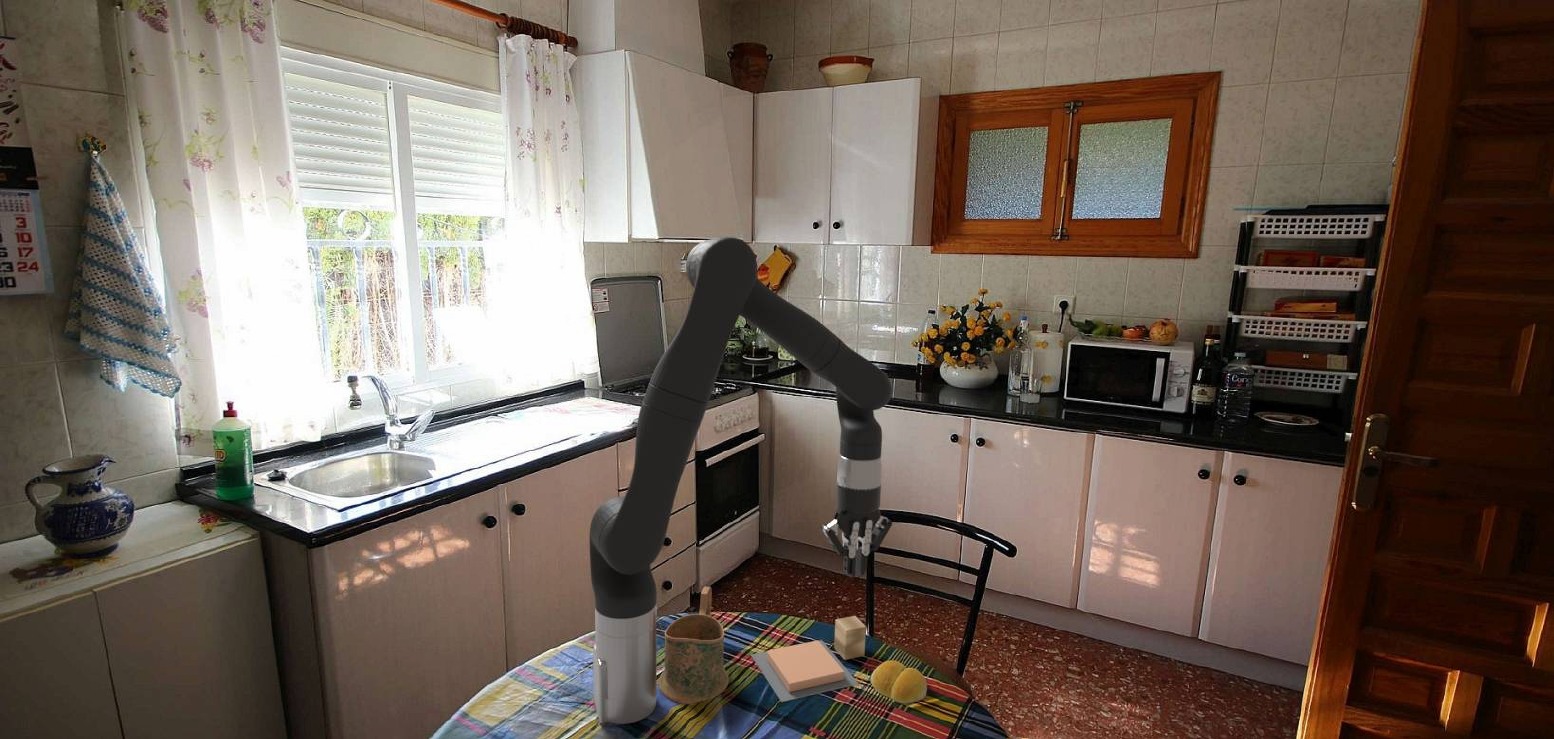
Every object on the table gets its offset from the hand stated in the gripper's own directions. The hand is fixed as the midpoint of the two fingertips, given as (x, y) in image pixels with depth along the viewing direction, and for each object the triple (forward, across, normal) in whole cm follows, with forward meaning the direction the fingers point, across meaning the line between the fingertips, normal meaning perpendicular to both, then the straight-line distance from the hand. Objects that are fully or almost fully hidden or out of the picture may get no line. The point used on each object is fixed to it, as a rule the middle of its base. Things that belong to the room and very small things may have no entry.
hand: (854, 574), depth 125 cm
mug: (+15, +27, -4) cm, 32 cm away
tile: (+14, +10, -3) cm, 18 cm away
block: (+15, 0, 0) cm, 15 cm away
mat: (+15, +10, +2) cm, 19 cm away
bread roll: (+16, -3, +12) cm, 20 cm away
